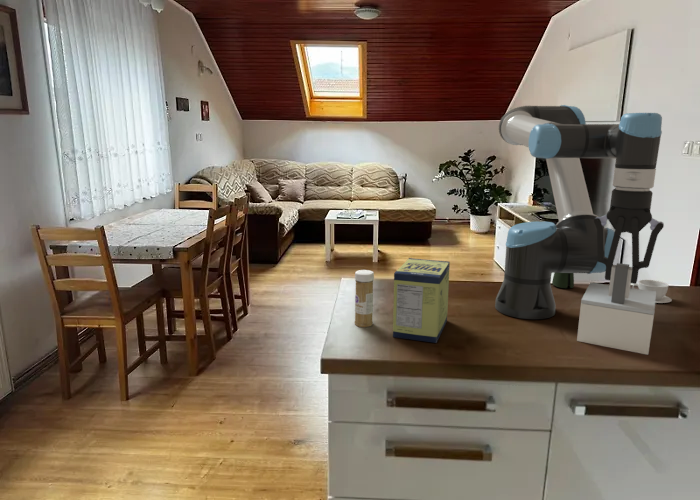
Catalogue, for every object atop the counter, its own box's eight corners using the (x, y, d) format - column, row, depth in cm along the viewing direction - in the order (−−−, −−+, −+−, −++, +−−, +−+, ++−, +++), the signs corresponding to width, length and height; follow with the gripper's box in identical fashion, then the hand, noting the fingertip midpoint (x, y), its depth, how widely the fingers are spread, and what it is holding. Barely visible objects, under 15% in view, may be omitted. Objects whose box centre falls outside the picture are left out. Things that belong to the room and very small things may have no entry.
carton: (576, 340, 113) (580, 303, 111) (586, 319, 127) (590, 285, 125) (648, 354, 106) (653, 315, 104) (650, 330, 119) (655, 295, 117)
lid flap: (590, 285, 125) (594, 251, 123) (655, 294, 117) (660, 258, 115) (581, 303, 111) (585, 264, 109) (653, 314, 104) (659, 273, 102)
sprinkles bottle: (350, 324, 123) (350, 271, 120) (364, 319, 126) (364, 268, 123) (363, 329, 120) (364, 275, 117) (377, 324, 123) (377, 271, 120)
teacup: (671, 297, 146) (673, 281, 144) (672, 306, 137) (674, 290, 136) (632, 291, 151) (634, 276, 149) (630, 300, 142) (632, 284, 141)
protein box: (447, 320, 126) (450, 260, 122) (437, 344, 111) (440, 276, 108) (406, 315, 129) (408, 257, 126) (391, 338, 115) (393, 272, 111)
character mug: (552, 291, 150) (556, 249, 147) (540, 284, 157) (543, 244, 154) (585, 289, 152) (590, 247, 149) (571, 283, 158) (576, 243, 156)
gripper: (589, 188, 106) (578, 294, 111) (676, 192, 98) (659, 306, 103) (593, 185, 112) (582, 286, 117) (675, 189, 104) (659, 297, 109)
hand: (618, 295), depth 110 cm, fingers closed on lid flap, 2 cm apart
